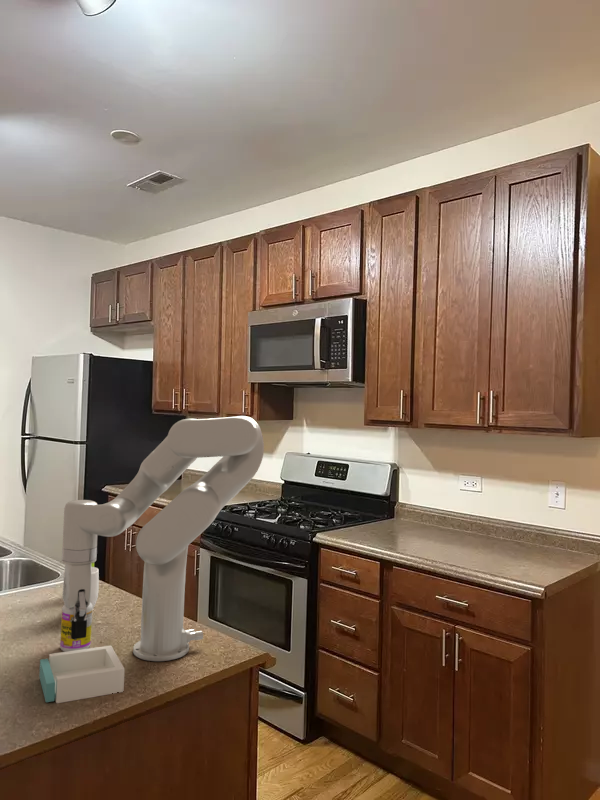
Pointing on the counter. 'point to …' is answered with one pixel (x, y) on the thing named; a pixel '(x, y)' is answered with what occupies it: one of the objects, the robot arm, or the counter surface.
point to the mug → (94, 586)
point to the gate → (47, 680)
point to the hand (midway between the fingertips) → (76, 631)
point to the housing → (86, 673)
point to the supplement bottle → (66, 624)
